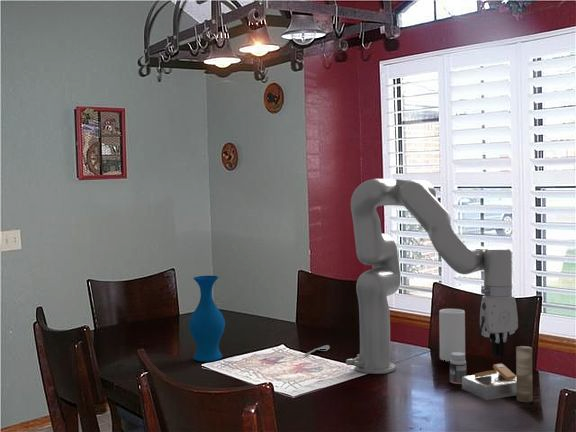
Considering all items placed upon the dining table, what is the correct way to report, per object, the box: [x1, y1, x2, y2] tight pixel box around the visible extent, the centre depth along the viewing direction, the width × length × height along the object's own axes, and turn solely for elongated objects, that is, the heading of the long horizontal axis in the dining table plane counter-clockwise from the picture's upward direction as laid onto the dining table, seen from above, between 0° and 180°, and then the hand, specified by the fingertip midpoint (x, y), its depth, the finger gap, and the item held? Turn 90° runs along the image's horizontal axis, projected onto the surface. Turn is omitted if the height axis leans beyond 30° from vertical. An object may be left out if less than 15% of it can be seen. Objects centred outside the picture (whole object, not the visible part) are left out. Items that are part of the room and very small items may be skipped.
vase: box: [188, 275, 226, 363], centre depth 226 cm, size 12×13×28 cm
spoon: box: [303, 344, 331, 357], centre depth 230 cm, size 4×21×2 cm, turn 141°
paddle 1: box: [473, 369, 497, 378], centre depth 184 cm, size 3×6×1 cm, turn 22°
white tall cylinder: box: [438, 308, 466, 362], centre depth 220 cm, size 8×8×16 cm
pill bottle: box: [449, 352, 467, 385], centre depth 194 cm, size 5×5×8 cm
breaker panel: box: [461, 371, 517, 401], centre depth 185 cm, size 14×11×4 cm
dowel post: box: [515, 345, 534, 403], centre depth 176 cm, size 4×4×14 cm
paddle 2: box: [492, 363, 516, 380], centre depth 186 cm, size 3×6×1 cm, turn 21°
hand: (498, 355), depth 188 cm, fingers closed
